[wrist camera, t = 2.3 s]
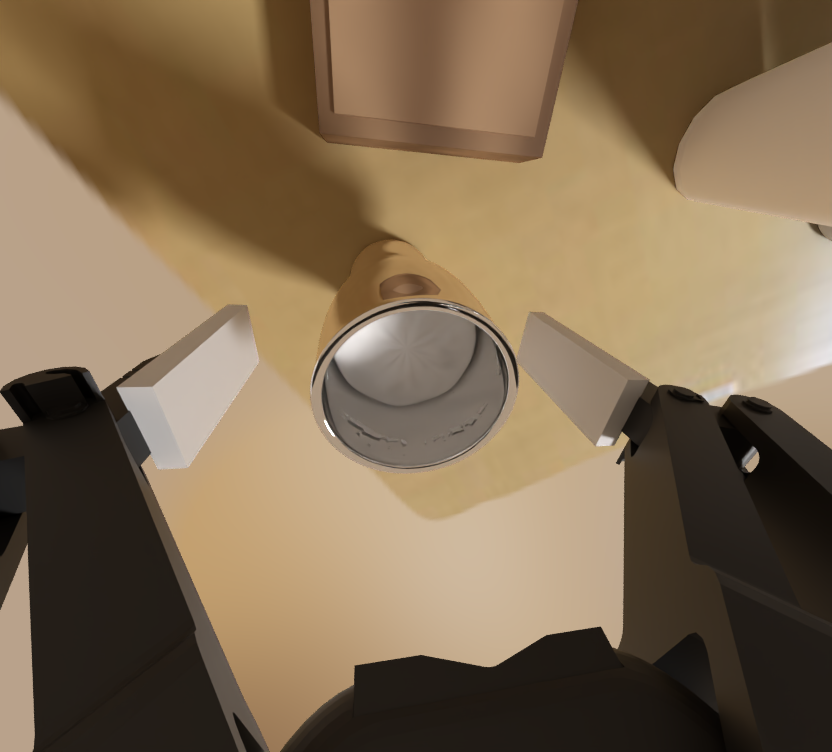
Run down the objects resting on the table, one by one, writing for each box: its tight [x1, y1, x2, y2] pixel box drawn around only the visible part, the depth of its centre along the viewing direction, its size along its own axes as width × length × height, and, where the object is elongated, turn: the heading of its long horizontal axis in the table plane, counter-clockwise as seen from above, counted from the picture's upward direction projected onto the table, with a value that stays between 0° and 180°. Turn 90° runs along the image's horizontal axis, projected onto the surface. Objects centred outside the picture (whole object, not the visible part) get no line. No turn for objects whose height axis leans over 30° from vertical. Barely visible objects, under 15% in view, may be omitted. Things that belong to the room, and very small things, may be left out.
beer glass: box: [310, 239, 519, 473], centre depth 16 cm, size 7×7×15 cm
